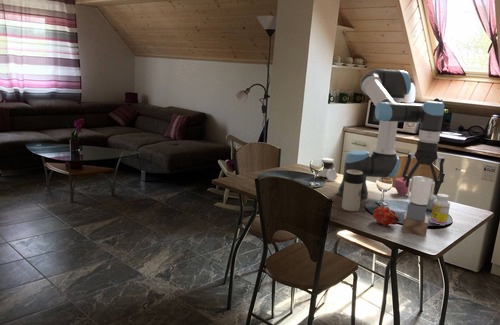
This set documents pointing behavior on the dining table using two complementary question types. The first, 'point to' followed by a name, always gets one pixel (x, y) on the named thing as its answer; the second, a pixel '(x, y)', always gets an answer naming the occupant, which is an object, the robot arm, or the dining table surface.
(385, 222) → the dragon fruit
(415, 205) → the gray block
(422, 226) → the walnut base block
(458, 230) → the dining table surface
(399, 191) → the apple
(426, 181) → the white cup
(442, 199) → the supplement bottle
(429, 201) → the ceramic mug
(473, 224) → the dining table surface
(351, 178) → the travel mug
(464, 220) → the dining table surface
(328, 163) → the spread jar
